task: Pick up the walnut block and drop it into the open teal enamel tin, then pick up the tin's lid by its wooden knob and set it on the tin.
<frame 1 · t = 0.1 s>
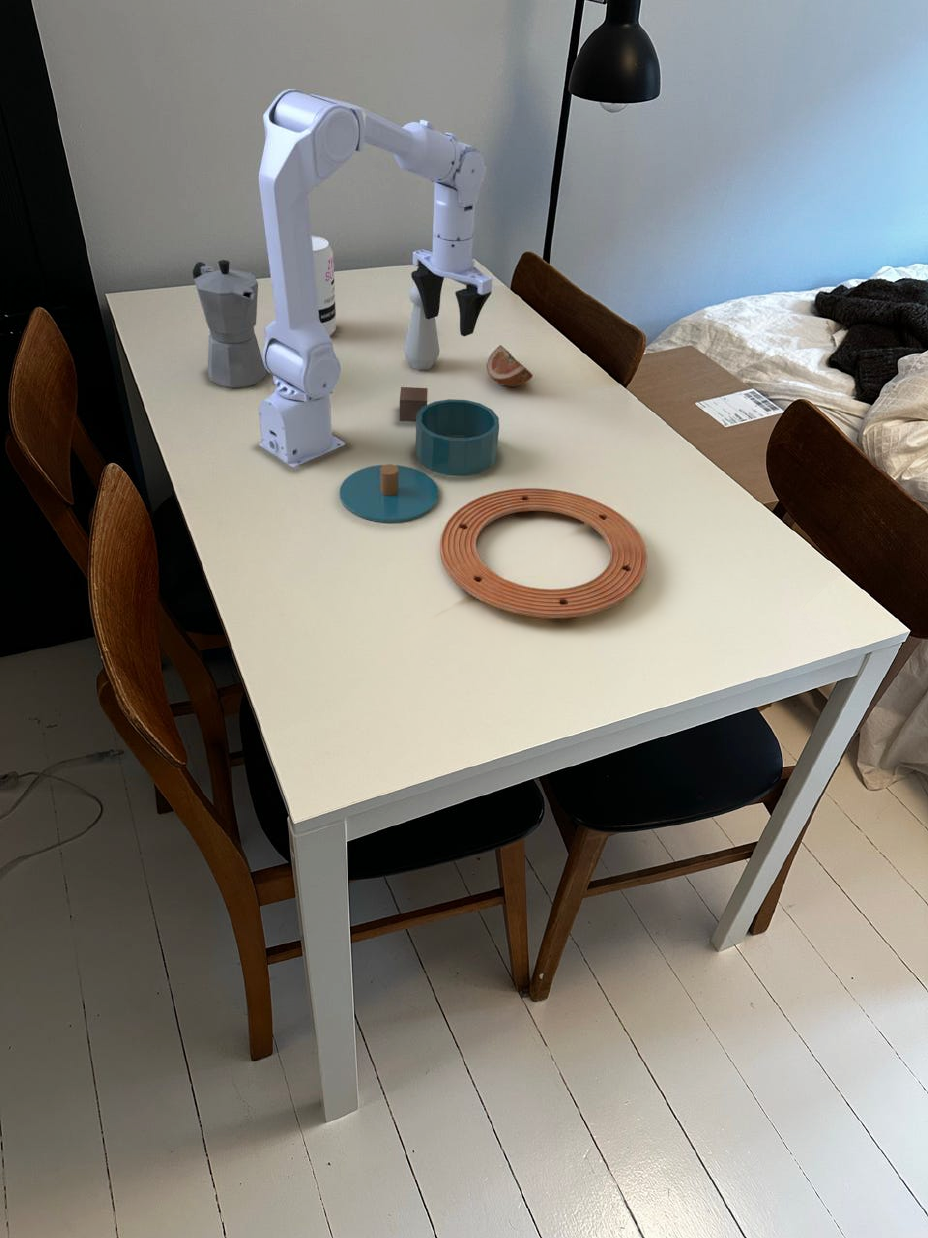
hand: (449, 325, 141), 10 cm above the table, tool pointing down, fingers open, 7 cm apart
coffeepot: (233, 373, 148), on the table
ring: (541, 561, 115), on the table
block: (413, 417, 140), on the table
salt shaker: (421, 365, 153), on the table
tin: (455, 456, 132), on the table
fruit slice: (508, 385, 150), on the table
supplement can: (312, 332, 160), on the table
lid: (389, 494, 123), point 1 cm above the table
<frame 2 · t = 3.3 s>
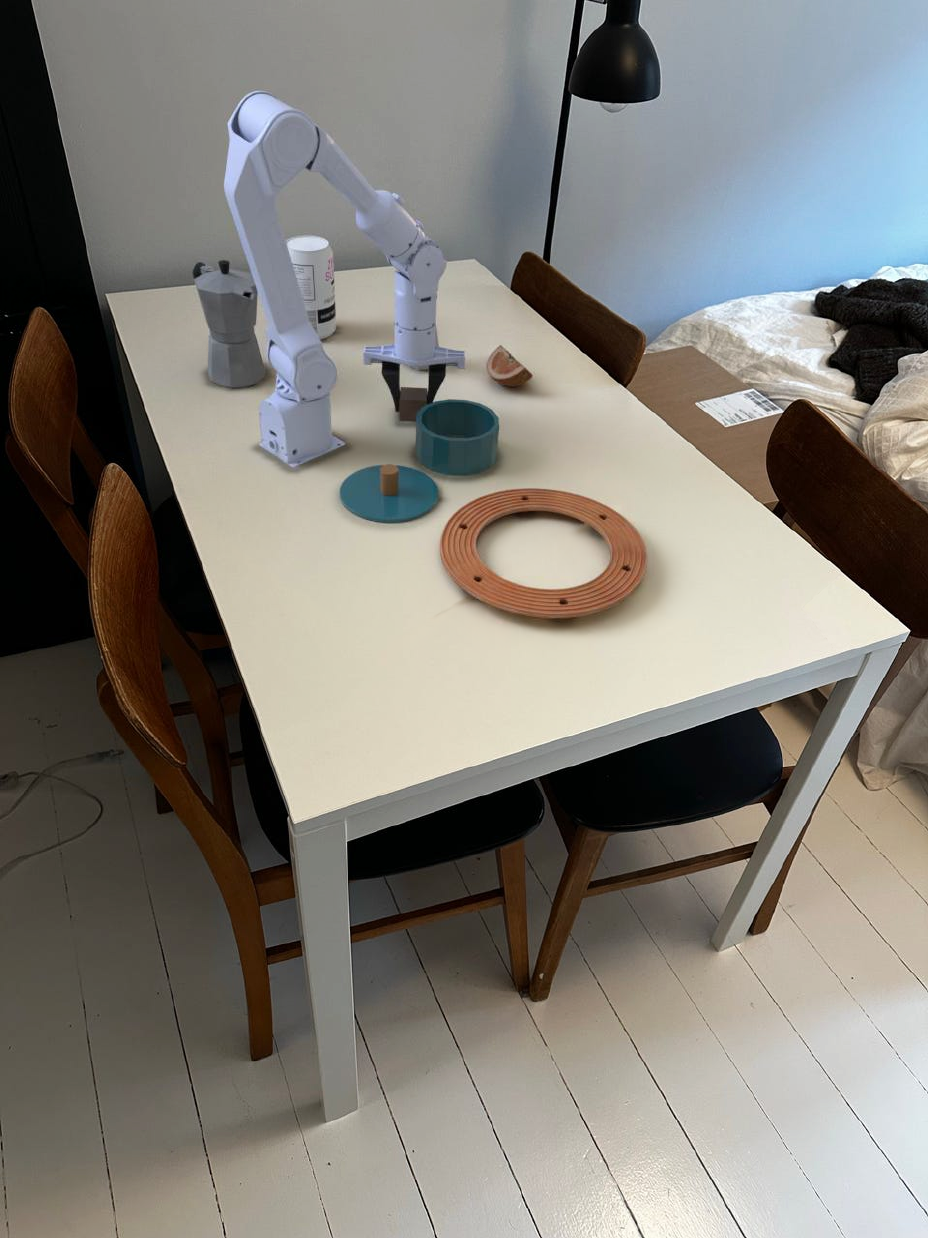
hand: (413, 409, 139), 1 cm above the table, tool pointing down, fingers closed on block, 4 cm apart
block: (413, 417, 140), on the table, touching gripper
everything else where it was.
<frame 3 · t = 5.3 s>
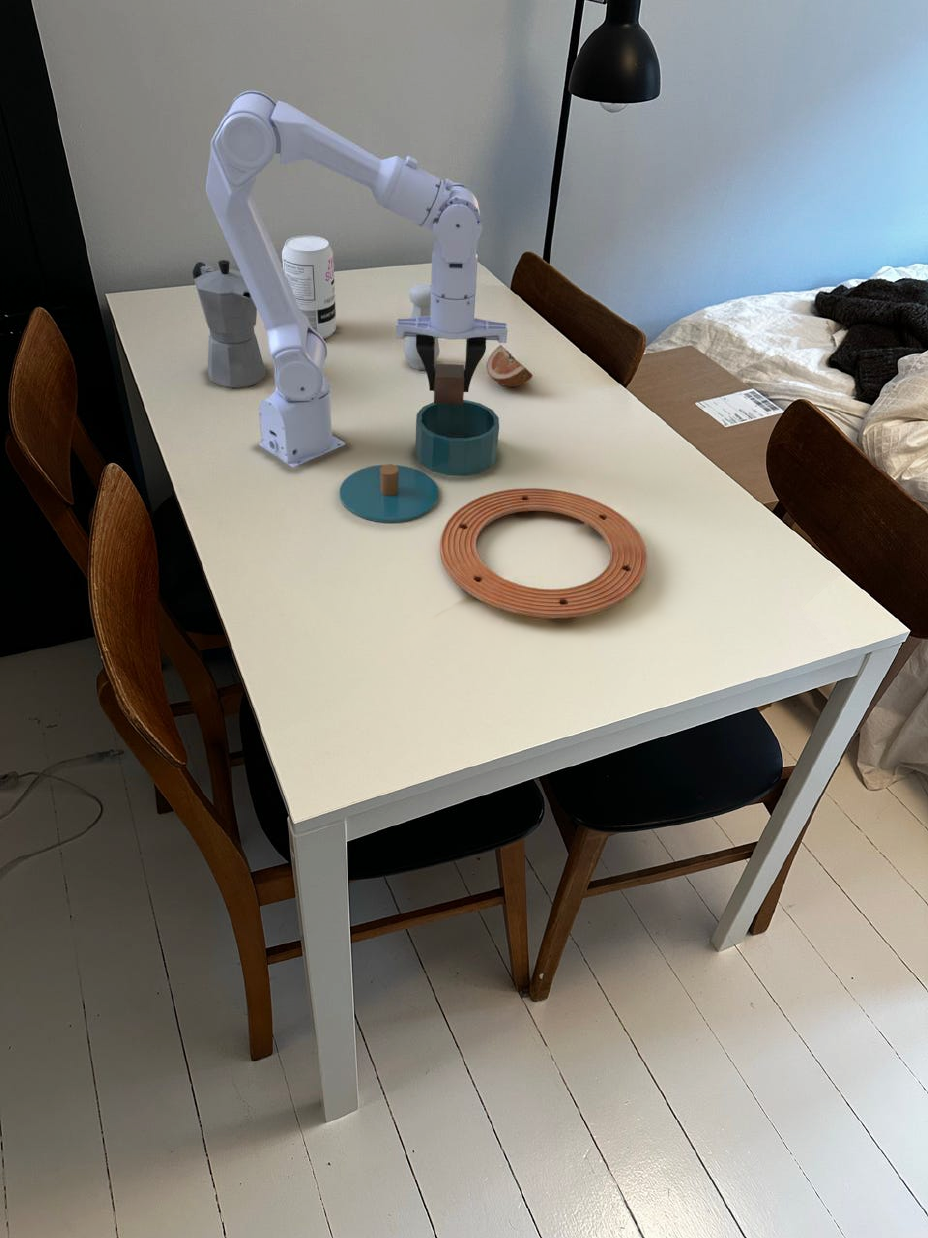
hand: (449, 388, 128), 9 cm above the table, tool pointing down, fingers closed on block, 4 cm apart
block: (448, 397, 129), point 8 cm above the table, touching gripper
everything else where it was.
when the fingers open (3 cm above the table, at t = 7.7 s): block drops 2 cm, resting on tin.
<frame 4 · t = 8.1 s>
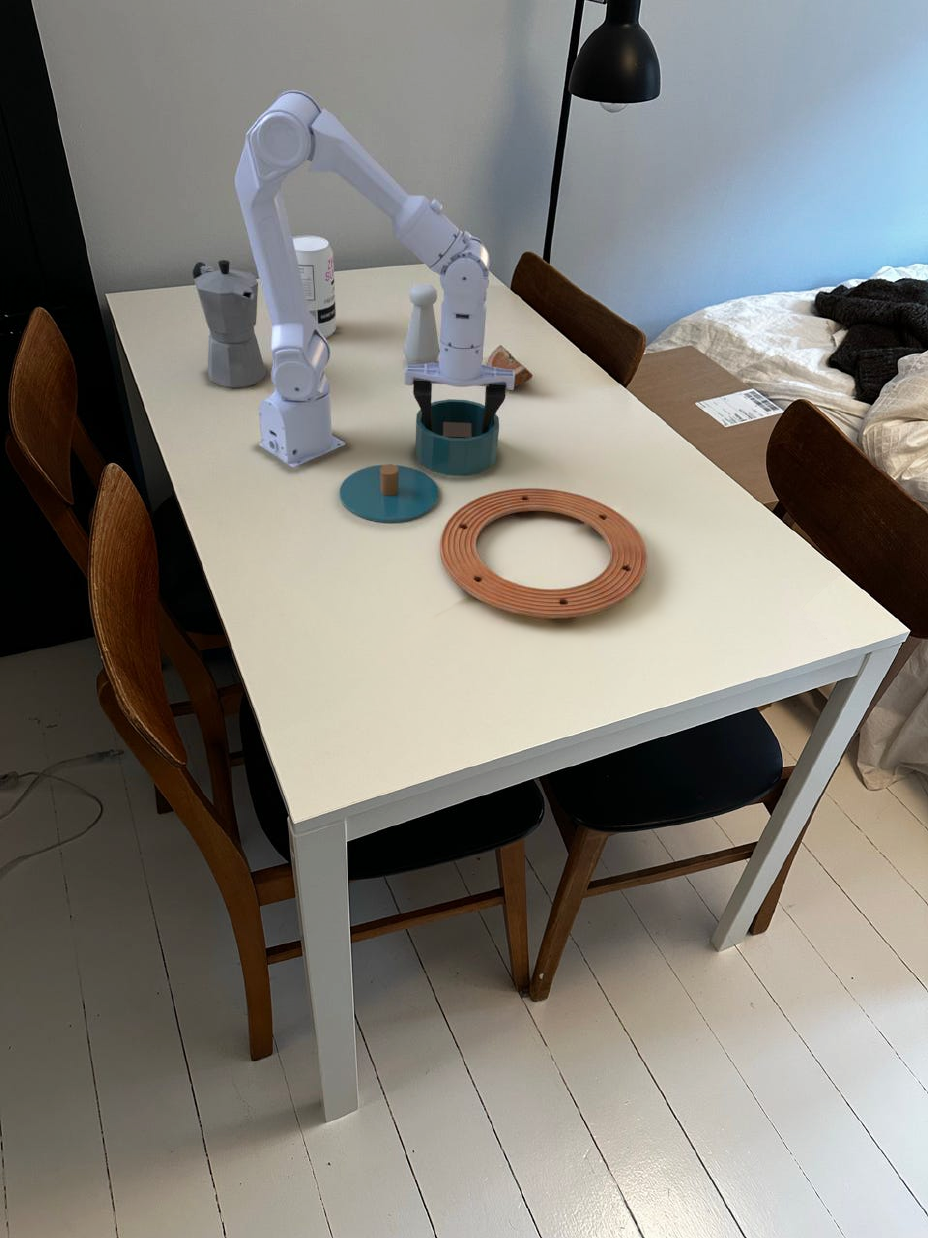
hand: (456, 431, 129), 4 cm above the table, tool pointing down, fingers open, 7 cm apart
block: (455, 454, 132), resting on tin
everything else where it was.
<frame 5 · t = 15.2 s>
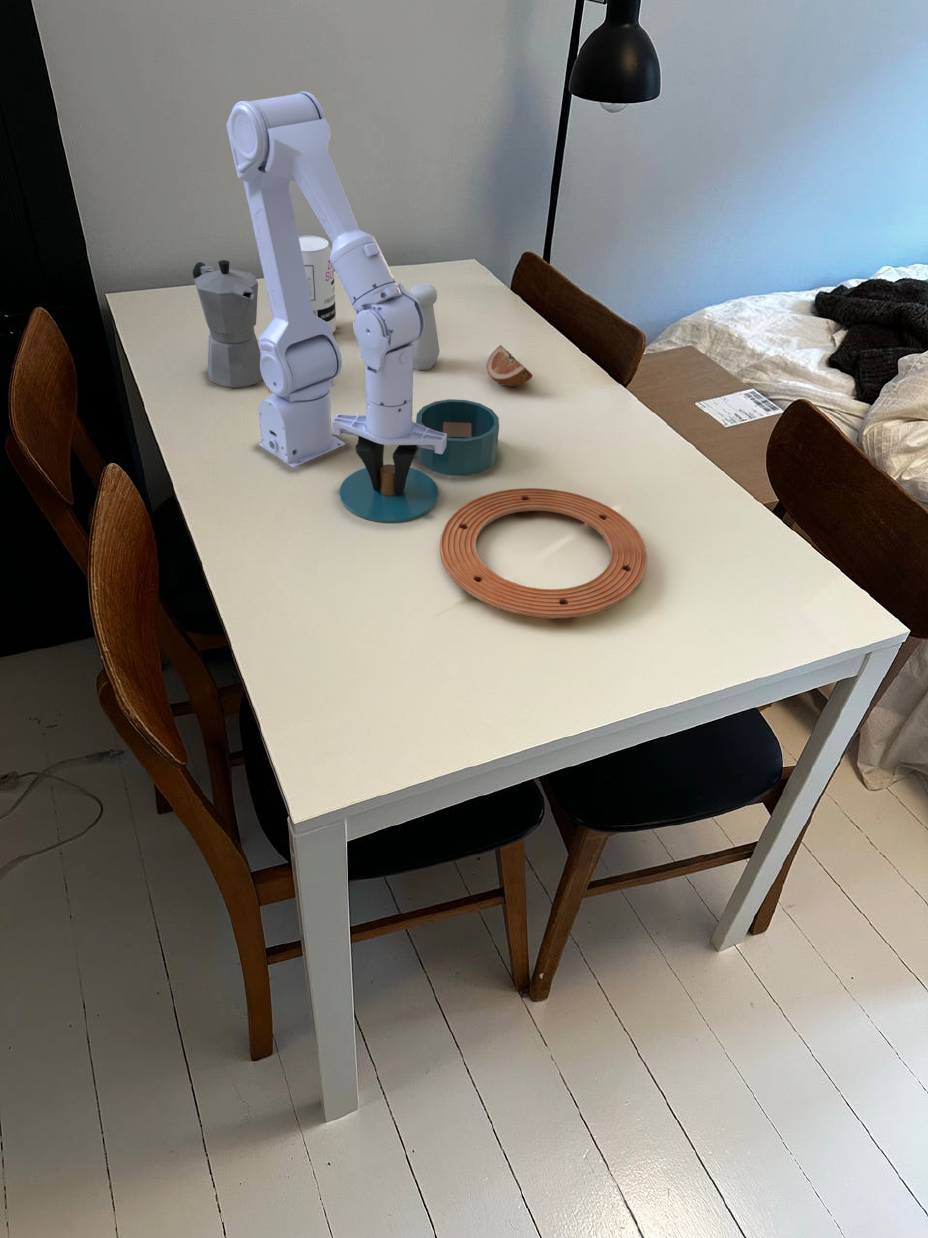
hand: (389, 488, 123), 1 cm above the table, tool pointing down, fingers closed on lid, 2 cm apart
lid: (389, 494, 123), point 1 cm above the table, touching gripper
everything else where it was.
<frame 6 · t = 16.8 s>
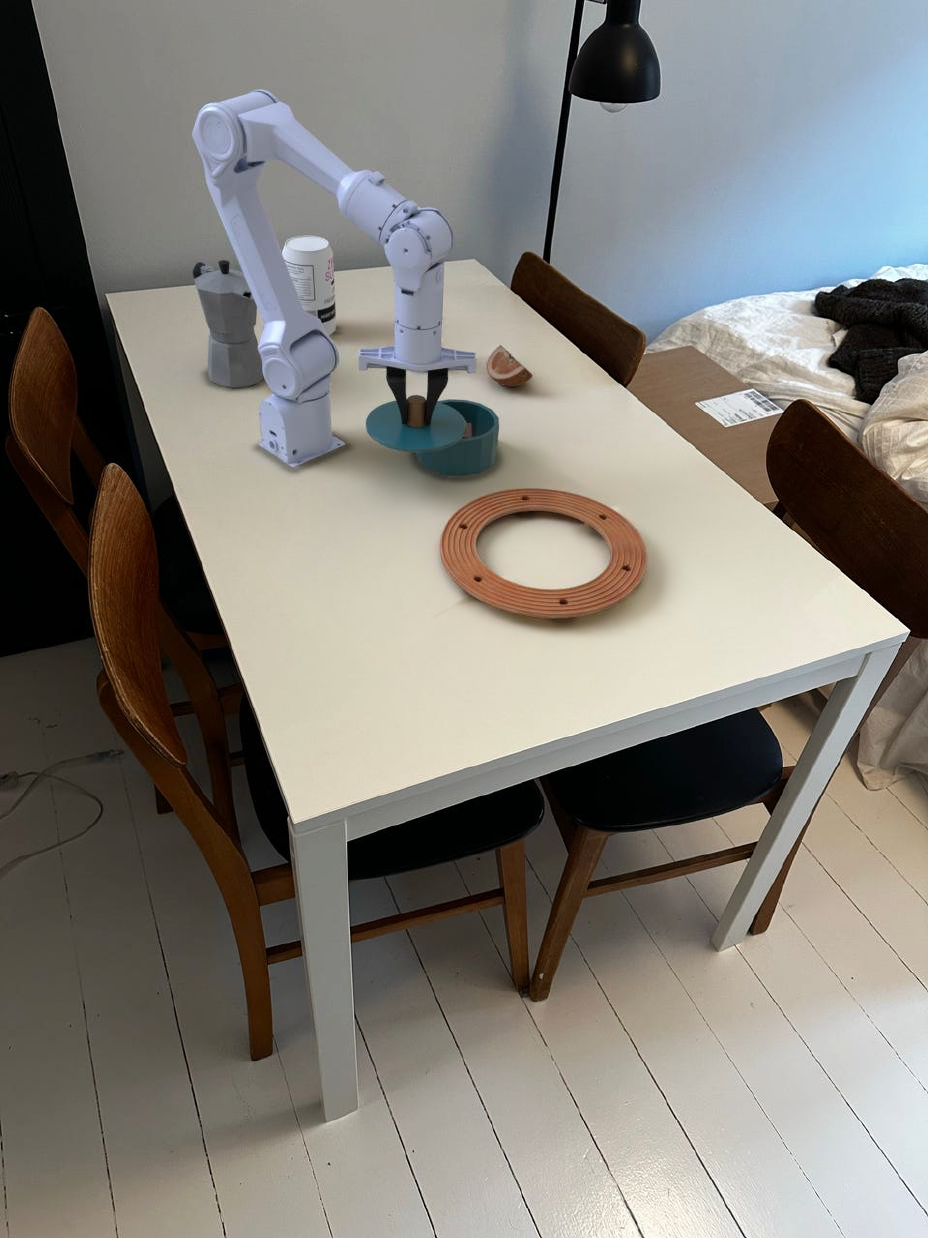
hand: (416, 420, 121), 9 cm above the table, tool pointing down, fingers closed on lid, 2 cm apart
lid: (415, 426, 121), point 9 cm above the table, touching gripper
everything else where it was.
when the fingers open (7 cm above the table, at t = 18.8 s): lid stays where it is, resting on tin.
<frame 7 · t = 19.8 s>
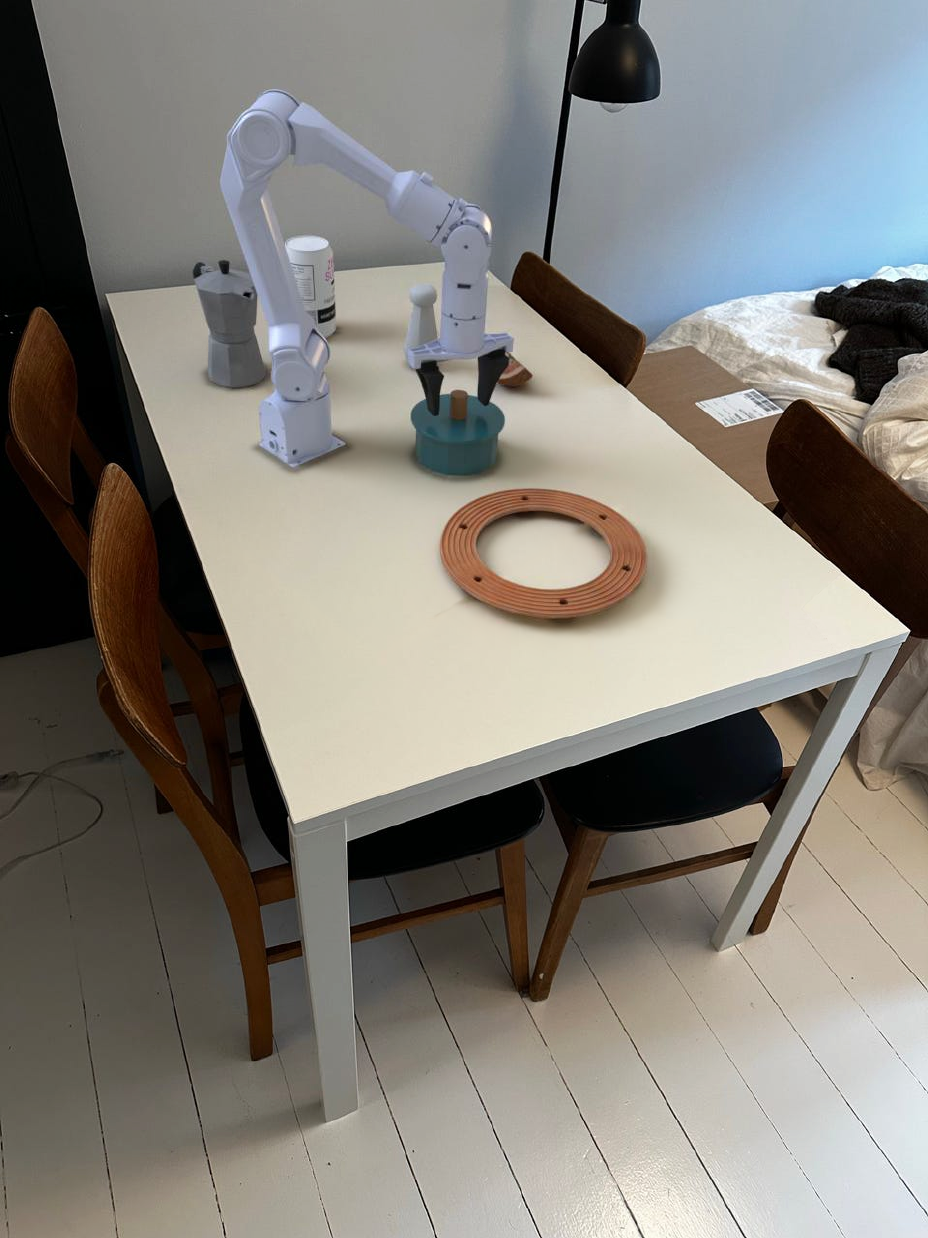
hand: (458, 407, 127), 8 cm above the table, tool pointing down, fingers open, 7 cm apart
lid: (457, 419, 128), point 6 cm above the table, touching tin
everything else where it was.
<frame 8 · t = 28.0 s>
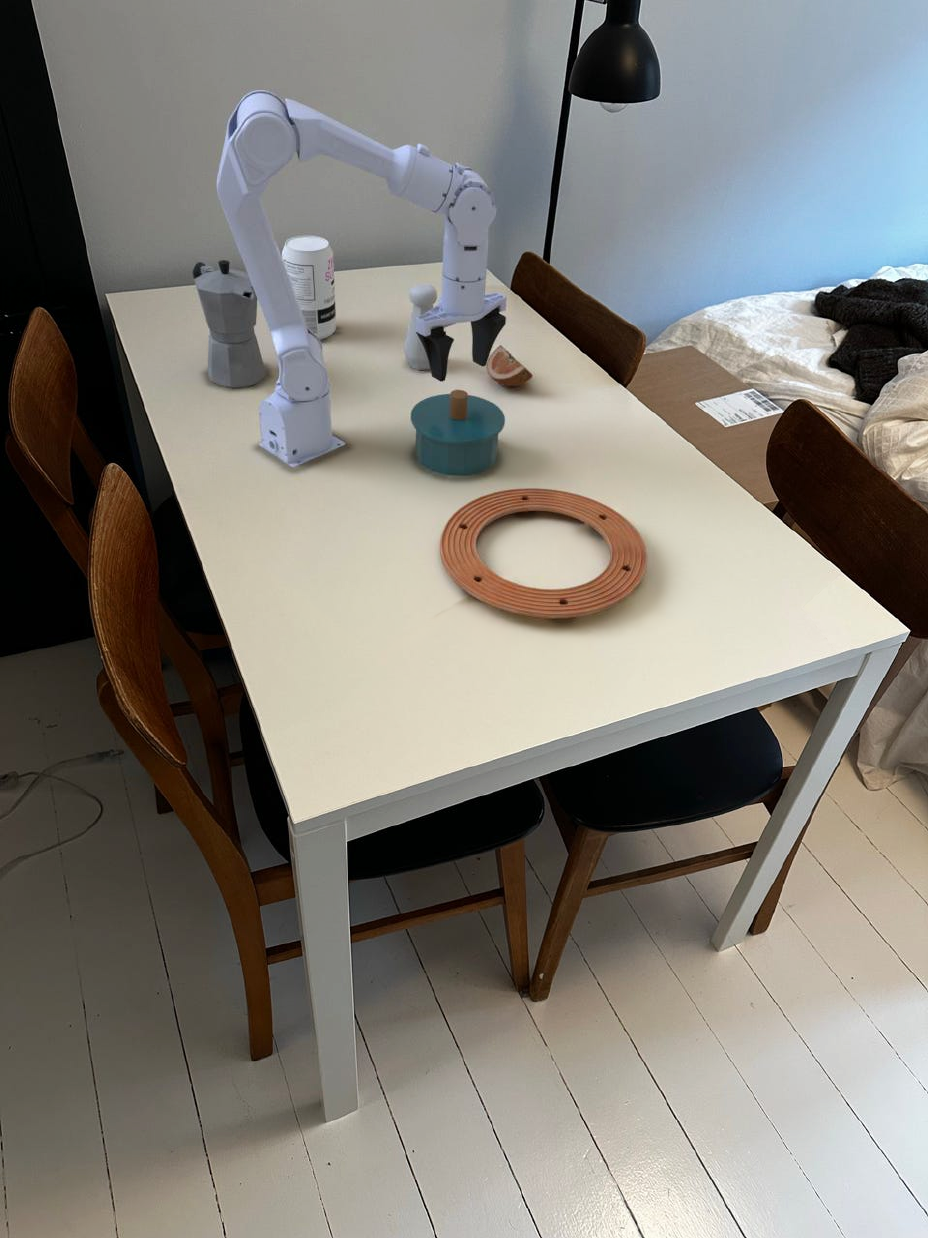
hand: (459, 370, 130), 10 cm above the table, tool pointing down, fingers open, 7 cm apart
nothing on the table moved.
at the end: block inside the target area in the tin (0.0 cm from its centre), point 0.4 cm above the tin's base; lid 0.0 cm off-centre on the tin, point 6.0 cm above the tin's base; lid tilted 0° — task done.
